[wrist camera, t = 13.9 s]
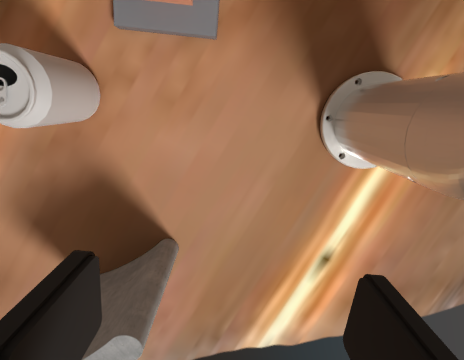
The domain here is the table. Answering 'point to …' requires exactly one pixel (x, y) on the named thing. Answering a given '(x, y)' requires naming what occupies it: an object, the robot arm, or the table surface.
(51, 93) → the can
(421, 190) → the table surface
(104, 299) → the hip flask
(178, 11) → the post base
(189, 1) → the salmon pink cube
